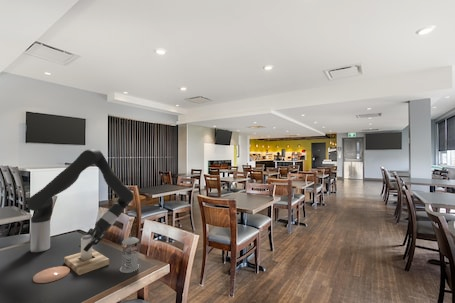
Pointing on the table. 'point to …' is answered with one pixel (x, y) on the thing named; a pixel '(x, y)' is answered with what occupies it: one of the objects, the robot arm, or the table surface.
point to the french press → (129, 254)
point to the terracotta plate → (51, 274)
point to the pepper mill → (84, 242)
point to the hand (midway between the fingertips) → (82, 249)
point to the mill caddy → (86, 262)
